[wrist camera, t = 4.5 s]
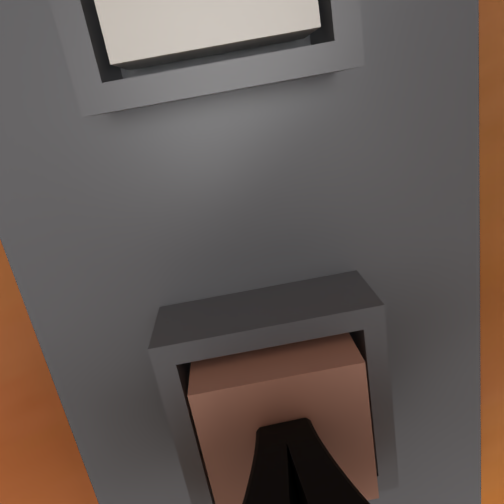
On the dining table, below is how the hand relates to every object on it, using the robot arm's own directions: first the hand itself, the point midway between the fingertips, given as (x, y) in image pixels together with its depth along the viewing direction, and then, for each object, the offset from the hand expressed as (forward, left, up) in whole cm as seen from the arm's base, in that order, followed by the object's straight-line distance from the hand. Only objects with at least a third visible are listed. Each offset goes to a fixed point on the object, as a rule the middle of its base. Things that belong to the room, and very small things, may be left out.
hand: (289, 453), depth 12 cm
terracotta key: (0, 0, -2) cm, 2 cm away
